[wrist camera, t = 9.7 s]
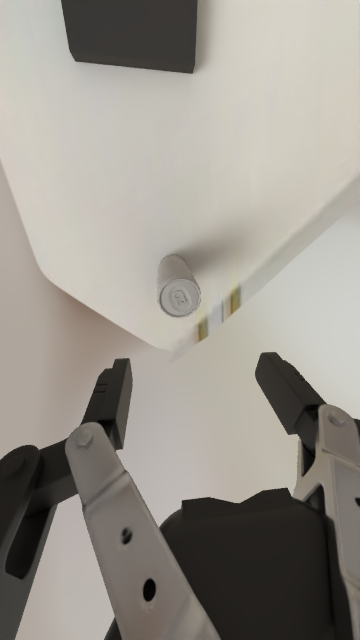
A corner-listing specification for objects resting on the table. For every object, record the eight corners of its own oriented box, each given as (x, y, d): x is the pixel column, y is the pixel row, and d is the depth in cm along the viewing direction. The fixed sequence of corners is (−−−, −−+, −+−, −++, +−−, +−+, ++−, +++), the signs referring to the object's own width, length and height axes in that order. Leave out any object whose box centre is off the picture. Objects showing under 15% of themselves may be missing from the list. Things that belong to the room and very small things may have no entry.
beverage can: (165, 288, 32) (168, 325, 21) (152, 262, 29) (149, 288, 19) (191, 277, 31) (208, 309, 21) (180, 249, 29) (193, 269, 18)
